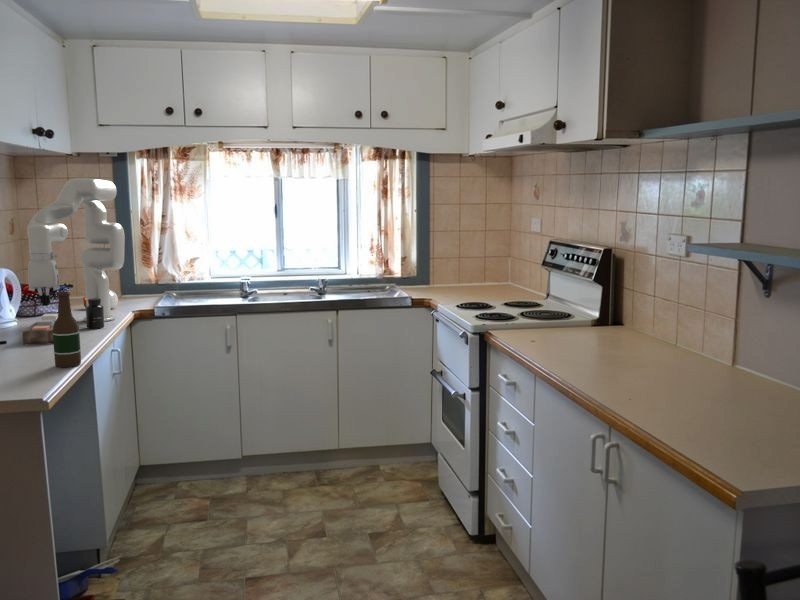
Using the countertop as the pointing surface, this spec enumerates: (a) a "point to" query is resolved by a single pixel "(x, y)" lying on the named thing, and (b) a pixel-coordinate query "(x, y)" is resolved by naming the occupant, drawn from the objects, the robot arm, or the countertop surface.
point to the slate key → (46, 322)
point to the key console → (37, 335)
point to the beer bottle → (66, 335)
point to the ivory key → (49, 316)
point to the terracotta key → (41, 328)
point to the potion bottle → (112, 299)
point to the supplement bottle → (94, 314)
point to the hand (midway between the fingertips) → (45, 305)
